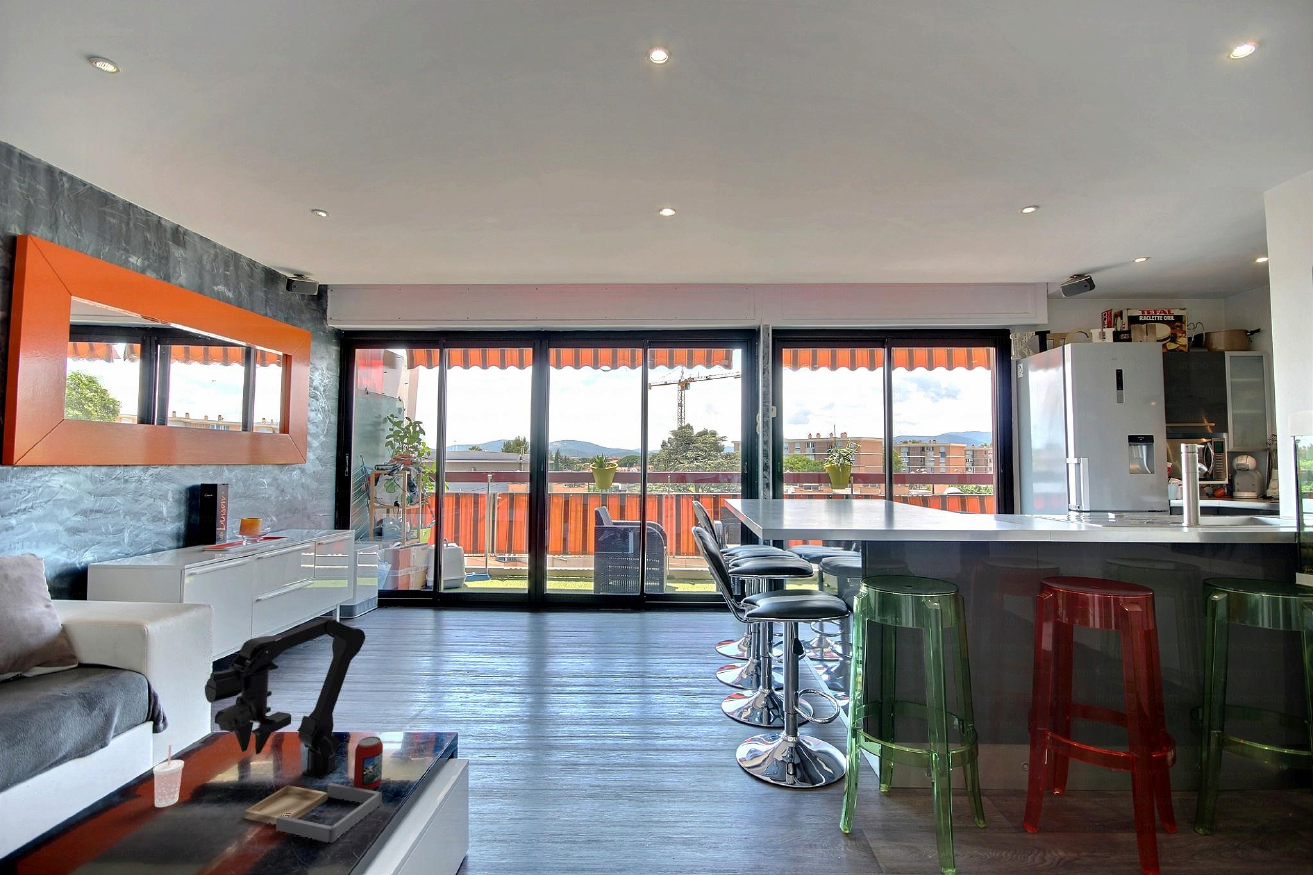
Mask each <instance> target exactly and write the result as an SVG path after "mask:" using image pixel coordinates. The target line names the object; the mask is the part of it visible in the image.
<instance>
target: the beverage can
mask: <svg viewBox="0 0 1313 875" xmlns="http://www.w3.org/2000/svg"><path fill="white" fill-rule="evenodd" d="M354 751H355V753H354V765H353V766H354V769H353V770H354V771H353V773H354V774H353V787H355V788H361V789H366V790H371V791H373V790H374V789H376V788H377V787H378V786H380V785H381V783H382V778H383V777H382V774H383V772H382V771H383V757H384V755H383V753H384V744H383V743H382V740H381V738H380V737H378V736H368V737H364V738H362V739H360V740H359V741H358V744H357V745H356V747H355V749H354Z"/></svg>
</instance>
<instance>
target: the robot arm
mask: <svg viewBox="0 0 1313 875" xmlns="http://www.w3.org/2000/svg"><path fill="white" fill-rule="evenodd" d="M325 635H327V636H329V637H331V638H333V639H332V645H331V648H332V660H331V662H330V664H329V668H328V671H327V674H326V676H325V680H324V681H323V685H322V688H321V689H320V693H319V696H318V699H317V700H316V704H315V707H314V709H313V710H312V712H311V713H310V714H309V715H308V716H307V715H303V716H302V719H301V723H300V726H299V728H297V732H298V740H299V742H301V743H302V744H303V746H304V748H306V749H307V764H306V769H305V770H303V771H302V773H301V774H302V775H305V776H309V777H315V778H323V777H325V776H326V775H328V774H329V773H331V772H333V771H334V770H335V769H337V768H338V767H339V765H338V764H336V753H335V751H337V750H338V749H339V747H340V743H341V740H340V739H338V738H337V737H335V736H333V731H334V726H335V725H334V723H335V722H334V711H335V708H336V704H337V701H338V698H339V696H340V693H341V691H342V687H343V684H344V682H345V679H346V675H347V673H348V670H349V667H350V665H351V661H352V660H353V659H354V658H355V657H356V656H357V655H358V654H359V653H360V651H361V648H362V647H363V645H364V643H365V641H366V634H365V631H364V630H362V629H361V628H358V627H354V626H350V625H345V624H344V623H342V622H339V621H337V619H336V618H332V617H328V616H324V617H321V618H319V619H317V620H315V621H311V622H308V623H307V624H304V625H301V626H298V627H295V628H293V629H290V630H287V631H284V632H282V633H279V634H275V635H266V636H259V637H254V638H250V639H248V640H246V641H244V642H243V644H242V645H241V647H240V650H239V652H238V654H237V656H235V658H234V659H233V661H232V662H231V663H230V665H229V666H228V668H229V669H226V670H225V669H224V670H223V671H222V670H221V671H214V672H211V673H210V676H209V678H208V679H207V681H206V685H204V697H205V699H206V700H207V702H208V703H215V702H219V701H222V700H226V699H227V700H228V699H230V698H233V697H236V696H237V697H236V699H235V704H232V705H230V706H228V707H225V708H223V709H220V710H218V711H217V713H216V714H215V715H214V724H216V725H218V727H219V730H220V731H222V732H223V731H225V732H229V733H234V734H235V736H236V739H237V741H238V745H239V747H240V750H241V752H242V753H244V752H246V751H247V750H248V748H249V745H250V740H251V735H252V734H253V735H255V736H254V737H255V741H254V742H255V744H254V745H255V746H254V747H255V754H256V755H259V754H261V753H262V751H263V749H264V747H265V746H266V744H267V743H268V742H267V741H268V739H269V738H270V736H271V735H272V733H275V732H277V731H279V730H282V729H284V728H286V727H288V726H290V725H292V715H291V714H290V713H289V712H282V711H277V712H274V713H272V714H270V715H267V714H269V713H270V712H271V710H272V707H270V706H268V698H269V697H272V692H273V691H271V690H269V680H270V679H269V677H270V676H269V675H270V671H273V670H277V669H279V666H278V665H277V664H276V663H274V662H273V660H275V659H277V658H278V657H279V656H280V655H282V654H283V652H285V651H287V650H290V649H292V648H294V647H297V646H300V645H302V644H305V643H308V642H310V641H312V640H315V639H317V638H321V637H323V636H325ZM246 662H247V663H248V664H245V663H246ZM239 694H241V695H239ZM254 723H257V724H258V726H257V727H256V728H255V729H253V727H254Z"/></svg>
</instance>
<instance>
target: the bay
mask: <svg viewBox="0 0 1313 875" xmlns="http://www.w3.org/2000/svg"><path fill="white" fill-rule="evenodd" d="M327 793H328V798H333V799H338V800H342V799H344V800H343V801H347V800H348V801H349V802H352V801H356V802H355V803H357V802H359V804H360V805H359V806H358V807H356V808H355V809H354V810H352V811H350V813H348V814H347V815H345V816H344V817H342V818H341V819H340V820H339V821H337V822H336V823H334V824H333V825H332V826H331V825H326V824H321V823H317V822H311V821H308V820H303V819H300V818H299V819H294V818H289V817H284V816H279V817H277V822H276V825H275V827H276V828H275V832H278V831H284V832H288V833H293V834H296V835H300V836H299V837H301V836H302V838H305V837H308V838H307V839H310V838H312V839H311V840H315V839H316V841H319V842H324V843H328V842H330V844H333V843H334V842H335V841H336V840H338V839H339V838H341V835H342V834H343V833H344V834H346V833H347V832H348V831H349V830H351V829H352V828H353V827H355V826H356V825H357V824H359V821H360V820H361V819H362V820H364V819H365V818H366V817H367V816H369V815H368V813H370V812H371V813H372V812H373V810H374V811H375V810H377V809H378V808H379V807H381V806H382V801H383V800H382V799H383V798H382V797H383V792H381V791H377V790H376V791H375V790H366V789H361V788H355V787H354V786H350V785H343V784H339V783H334V782H330V783H328V784H327ZM362 803H363V804H362ZM378 806H379V807H378ZM377 807H378V808H377ZM371 813H370V814H371ZM366 815H367V816H366ZM365 816H366V817H365ZM364 817H365V818H364ZM362 820H361V821H362ZM361 821H360V822H361ZM356 823H357V824H356ZM355 824H356V825H355ZM352 826H353V827H352ZM351 827H352V828H351ZM350 828H351V829H350ZM346 831H347V832H346ZM344 834H343V835H344ZM296 835H295V836H296ZM343 835H342V836H343ZM337 838H338V839H337ZM332 842H333V843H332Z"/></svg>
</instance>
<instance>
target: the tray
mask: <svg viewBox="0 0 1313 875" xmlns="http://www.w3.org/2000/svg"><path fill="white" fill-rule="evenodd" d="M328 798H329V797H328V793H327V792H325V791H320V790H315V789H310V788H305V787H299V786H293V785H290V784H288V785H285V786H284V787H282V788H280V789H279V790H277V791H275V792H274V793H271V795H269V796H267V797H265V798H264V799H262V800H260V801H258V802H257V803H256V804H253V805H252V806H251V807H249V808H247V809H245V810H244V812H243V814H244V815H243V819H246V820H251V821H256V822H261V823H264V824H269V823H271V824H270V825H274V824H276V822H277V817H279V816H281V815H282V816H283V815H284V817H288V816H285V815H290V816H289V818H294V819H298V818H299V819H301V818H303V817H304V816H305V815H307V814H308V813H310V812H311V811H313V810H314V809H315V807H316V808H317V807H318V805H319V806H320V805H321V804H323V803H324V802H326V801H328ZM312 809H313V810H312ZM286 813H291V814H286ZM306 813H307V814H306ZM303 815H304V816H303ZM300 817H301V818H300Z"/></svg>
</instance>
